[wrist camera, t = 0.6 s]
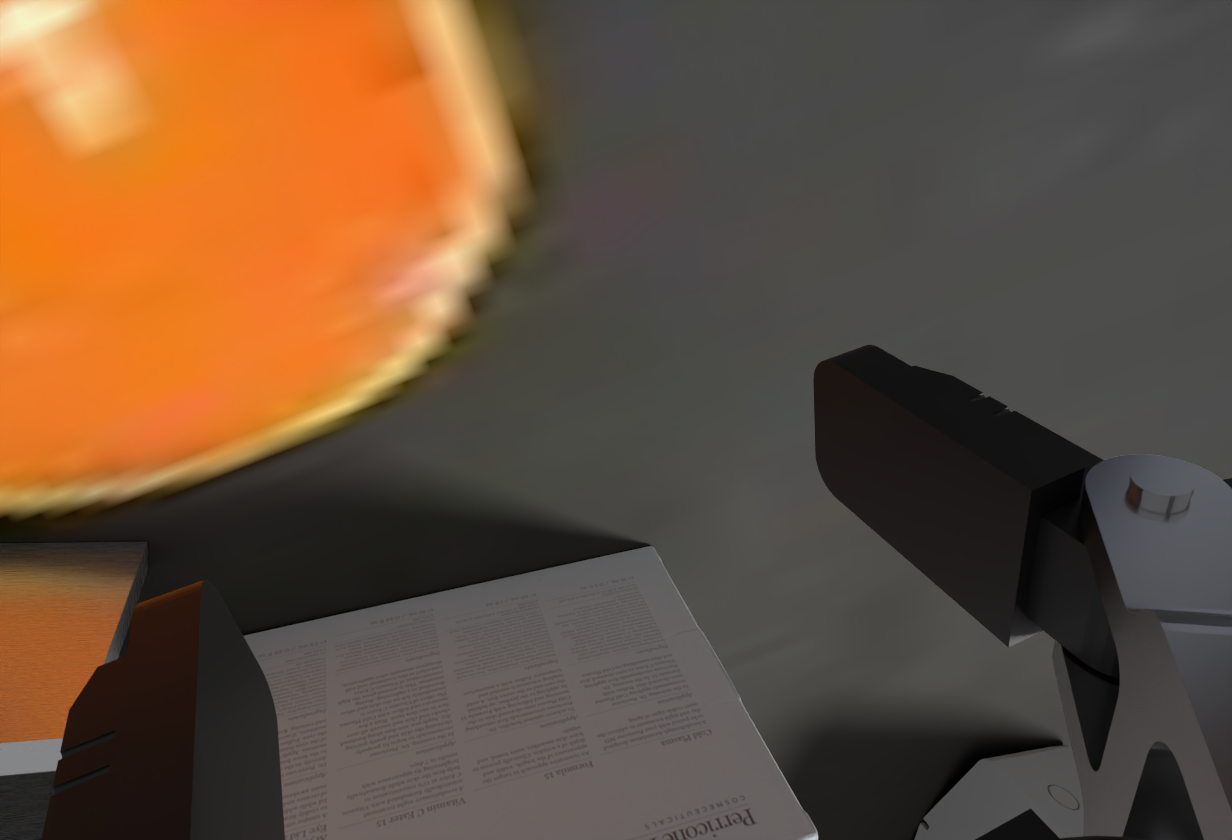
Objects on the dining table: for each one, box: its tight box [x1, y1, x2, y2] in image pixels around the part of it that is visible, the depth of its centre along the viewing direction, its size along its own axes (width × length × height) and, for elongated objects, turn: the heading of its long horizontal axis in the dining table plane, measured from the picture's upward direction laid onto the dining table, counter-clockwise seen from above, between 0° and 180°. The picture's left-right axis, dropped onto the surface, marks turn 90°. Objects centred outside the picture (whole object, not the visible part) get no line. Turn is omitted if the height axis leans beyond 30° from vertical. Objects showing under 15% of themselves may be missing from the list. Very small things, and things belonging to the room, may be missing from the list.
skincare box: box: [244, 546, 818, 840], centre depth 31 cm, size 21×6×16 cm, turn 92°
